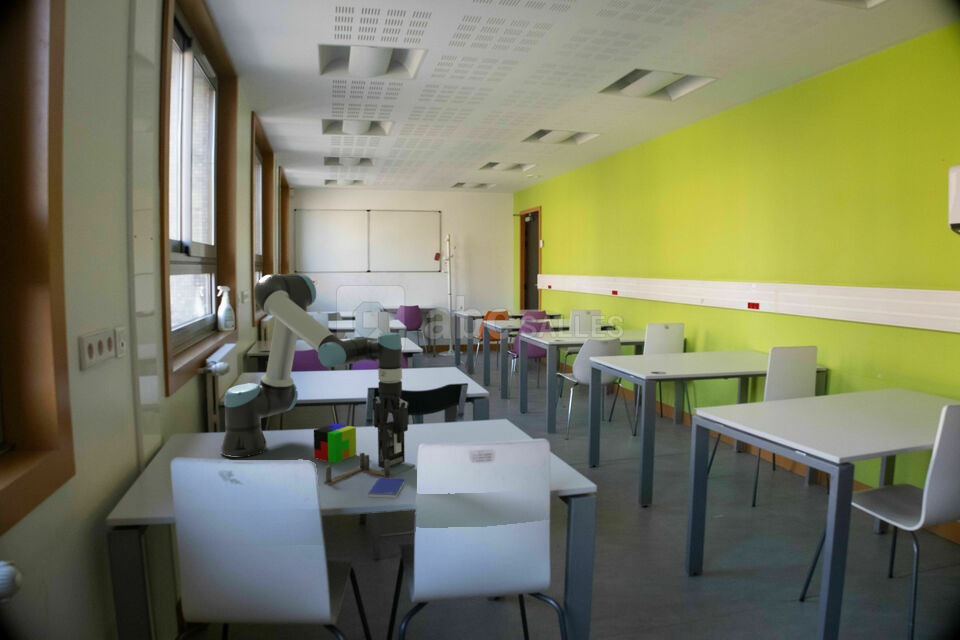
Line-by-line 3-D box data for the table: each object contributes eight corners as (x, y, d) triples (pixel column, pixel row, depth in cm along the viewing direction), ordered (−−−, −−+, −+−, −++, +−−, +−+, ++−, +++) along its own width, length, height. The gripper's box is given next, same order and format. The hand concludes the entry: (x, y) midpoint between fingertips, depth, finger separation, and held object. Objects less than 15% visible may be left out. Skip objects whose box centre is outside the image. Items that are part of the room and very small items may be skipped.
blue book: (395, 494, 165) (404, 478, 177) (367, 493, 165) (378, 477, 178) (395, 499, 165) (404, 483, 177) (367, 498, 165) (378, 482, 178)
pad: (367, 469, 188) (367, 468, 187) (389, 460, 197) (389, 458, 197) (393, 476, 182) (393, 474, 182) (415, 465, 191) (415, 464, 191)
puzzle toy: (335, 450, 207) (334, 423, 207) (356, 455, 202) (355, 427, 201) (314, 458, 199) (313, 430, 198) (335, 463, 194) (334, 434, 193)
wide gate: (324, 484, 175) (324, 466, 175) (361, 468, 189) (361, 452, 188) (329, 485, 174) (328, 468, 174) (366, 469, 188) (366, 453, 187)
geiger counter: (397, 457, 195) (397, 414, 193) (407, 460, 192) (406, 416, 191) (374, 466, 186) (373, 420, 185) (384, 469, 184) (383, 423, 182)
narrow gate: (387, 478, 180) (387, 461, 179) (362, 472, 185) (362, 455, 185) (391, 476, 182) (391, 459, 181) (367, 470, 187) (366, 454, 186)
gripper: (361, 379, 188) (362, 449, 190) (404, 385, 179) (405, 458, 181) (377, 376, 195) (378, 443, 197) (419, 381, 185) (419, 452, 187)
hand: (391, 450), depth 189 cm, fingers closed on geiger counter, 5 cm apart
